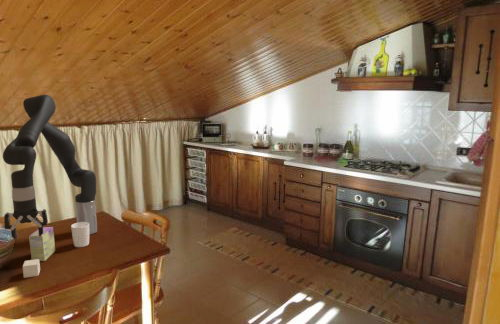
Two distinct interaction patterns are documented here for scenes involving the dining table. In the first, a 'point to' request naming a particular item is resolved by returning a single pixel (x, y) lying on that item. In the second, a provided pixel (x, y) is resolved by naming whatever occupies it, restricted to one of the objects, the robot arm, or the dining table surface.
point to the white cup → (80, 234)
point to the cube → (31, 268)
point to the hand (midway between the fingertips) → (28, 236)
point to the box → (42, 244)
